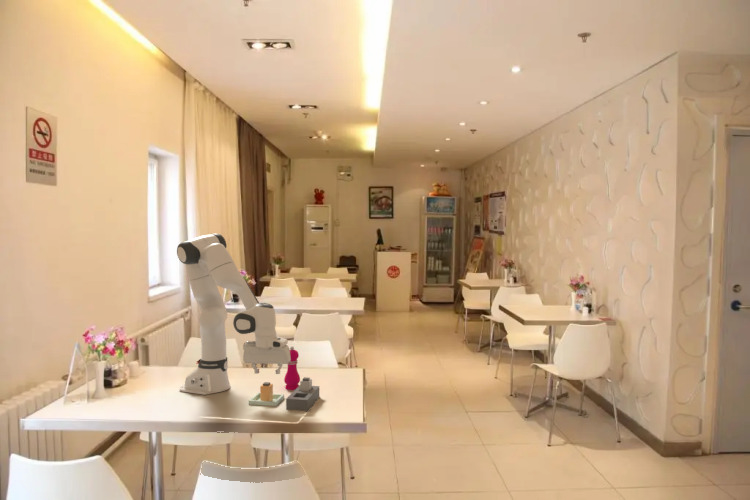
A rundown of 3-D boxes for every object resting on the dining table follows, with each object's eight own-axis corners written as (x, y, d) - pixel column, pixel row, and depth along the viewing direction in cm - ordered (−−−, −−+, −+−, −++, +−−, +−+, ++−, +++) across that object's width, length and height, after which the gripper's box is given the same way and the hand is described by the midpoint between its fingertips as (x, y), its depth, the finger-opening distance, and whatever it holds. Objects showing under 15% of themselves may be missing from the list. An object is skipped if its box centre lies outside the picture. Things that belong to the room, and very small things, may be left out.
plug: (260, 402, 212) (260, 384, 211) (264, 399, 216) (263, 381, 215) (269, 403, 211) (269, 384, 211) (272, 399, 215) (272, 381, 215)
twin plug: (300, 397, 214) (300, 379, 214) (303, 394, 218) (303, 376, 218) (309, 397, 213) (309, 379, 213) (311, 394, 217) (311, 377, 217)
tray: (248, 405, 209) (248, 400, 209) (257, 397, 219) (257, 392, 219) (275, 407, 208) (275, 402, 207) (284, 399, 217) (284, 394, 217)
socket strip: (286, 410, 204) (286, 398, 204) (299, 396, 221) (299, 385, 221) (307, 412, 202) (307, 400, 202) (319, 397, 220) (319, 386, 220)
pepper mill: (296, 392, 227) (296, 348, 226) (281, 391, 229) (281, 347, 228) (302, 387, 234) (302, 345, 233) (287, 386, 236) (287, 344, 235)
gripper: (239, 342, 211) (241, 375, 211) (286, 343, 207) (287, 376, 208) (246, 339, 217) (247, 370, 218) (291, 339, 213) (292, 371, 214)
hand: (267, 373), depth 213 cm, fingers open, 8 cm apart
